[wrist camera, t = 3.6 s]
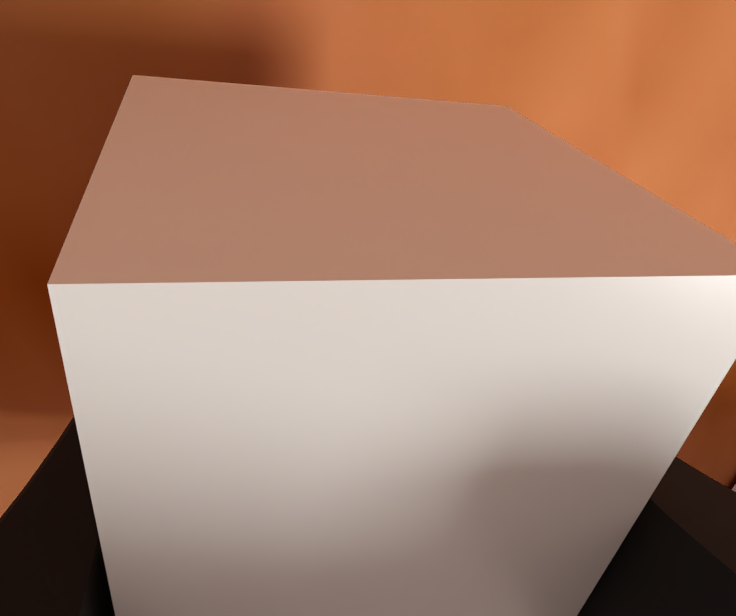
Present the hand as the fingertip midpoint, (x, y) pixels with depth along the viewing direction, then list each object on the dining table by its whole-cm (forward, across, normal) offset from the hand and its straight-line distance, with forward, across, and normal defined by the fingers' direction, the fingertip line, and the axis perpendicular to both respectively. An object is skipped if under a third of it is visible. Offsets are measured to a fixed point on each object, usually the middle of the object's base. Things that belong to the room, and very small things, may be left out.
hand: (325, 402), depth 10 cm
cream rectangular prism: (+2, 0, 0) cm, 2 cm away
